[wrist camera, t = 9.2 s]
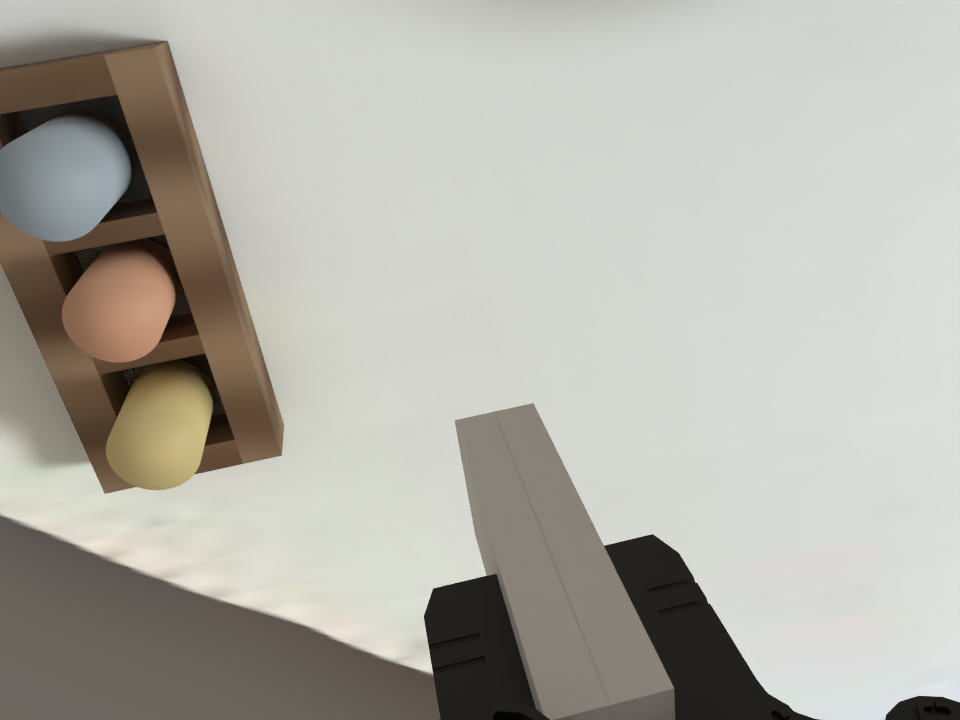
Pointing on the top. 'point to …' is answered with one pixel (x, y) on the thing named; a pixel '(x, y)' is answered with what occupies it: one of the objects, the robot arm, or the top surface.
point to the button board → (171, 211)
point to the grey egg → (64, 176)
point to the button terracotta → (123, 301)
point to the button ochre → (162, 426)
